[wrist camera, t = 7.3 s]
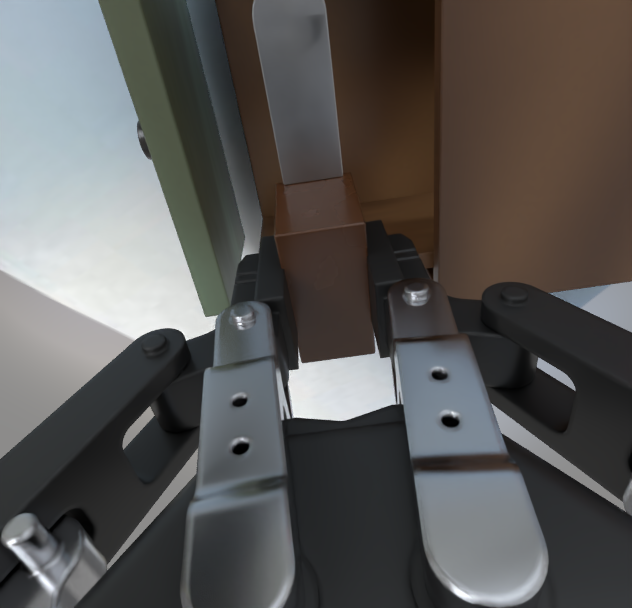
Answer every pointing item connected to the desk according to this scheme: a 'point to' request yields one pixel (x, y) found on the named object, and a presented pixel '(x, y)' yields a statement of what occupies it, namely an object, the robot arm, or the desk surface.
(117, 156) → the desk surface
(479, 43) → the cabinet
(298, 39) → the knife
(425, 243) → the drawer
